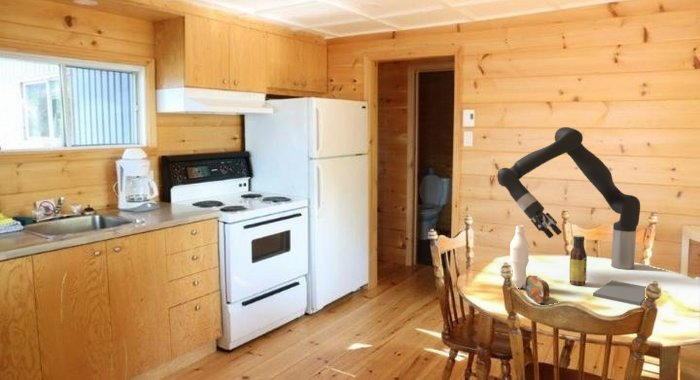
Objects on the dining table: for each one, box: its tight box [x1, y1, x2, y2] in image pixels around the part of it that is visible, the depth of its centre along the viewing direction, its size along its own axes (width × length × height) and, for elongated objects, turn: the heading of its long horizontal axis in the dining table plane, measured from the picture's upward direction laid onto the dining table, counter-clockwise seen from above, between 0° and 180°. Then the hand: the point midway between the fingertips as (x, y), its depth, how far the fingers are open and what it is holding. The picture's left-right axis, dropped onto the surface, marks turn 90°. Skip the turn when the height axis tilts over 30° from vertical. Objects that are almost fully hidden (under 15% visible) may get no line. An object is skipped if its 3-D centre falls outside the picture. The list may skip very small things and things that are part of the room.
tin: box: [525, 274, 551, 304], centre depth 190 cm, size 15×3×8 cm, turn 5°
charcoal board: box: [592, 280, 647, 307], centre depth 197 cm, size 22×16×1 cm
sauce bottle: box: [569, 234, 588, 286], centre depth 209 cm, size 6×6×20 cm
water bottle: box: [509, 224, 530, 290], centre depth 205 cm, size 7×7×25 cm
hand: (555, 235), depth 214 cm, fingers open, 8 cm apart
